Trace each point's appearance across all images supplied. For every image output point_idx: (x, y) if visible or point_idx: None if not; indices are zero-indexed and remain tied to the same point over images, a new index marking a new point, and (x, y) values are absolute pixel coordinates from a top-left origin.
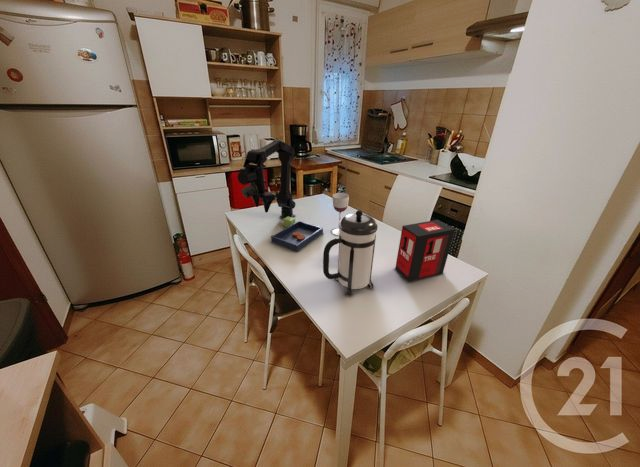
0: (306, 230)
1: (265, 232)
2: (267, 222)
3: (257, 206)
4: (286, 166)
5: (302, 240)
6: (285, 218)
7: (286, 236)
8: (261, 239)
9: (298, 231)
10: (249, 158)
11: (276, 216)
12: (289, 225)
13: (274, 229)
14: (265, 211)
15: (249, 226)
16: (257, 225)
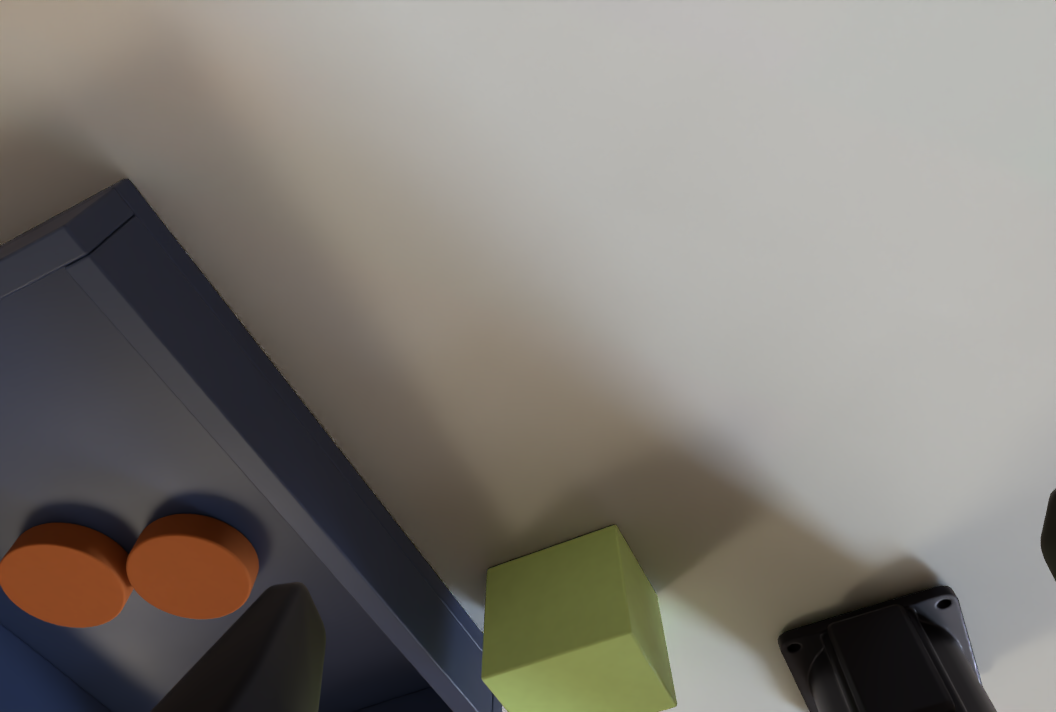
0: None
1: (569, 213)
2: (925, 376)
3: (1049, 529)
4: None
5: None
6: (620, 657)
7: (206, 442)
8: (317, 40)
9: None
10: None
11: (1013, 554)
12: (507, 596)
13: (593, 380)
14: (243, 616)
15: (1047, 9)
16: (954, 181)
